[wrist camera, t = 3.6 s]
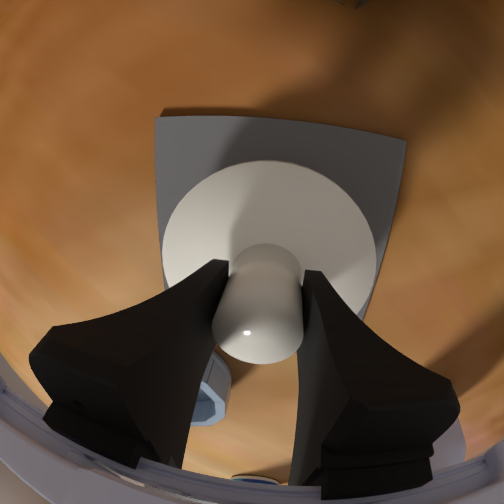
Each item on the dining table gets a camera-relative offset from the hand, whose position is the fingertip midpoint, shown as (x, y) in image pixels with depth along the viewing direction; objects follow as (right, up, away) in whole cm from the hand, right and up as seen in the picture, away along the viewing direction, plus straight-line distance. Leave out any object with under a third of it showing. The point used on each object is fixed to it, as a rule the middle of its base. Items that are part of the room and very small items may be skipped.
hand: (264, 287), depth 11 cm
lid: (0, +1, +1) cm, 2 cm away
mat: (0, +2, +4) cm, 4 cm away
